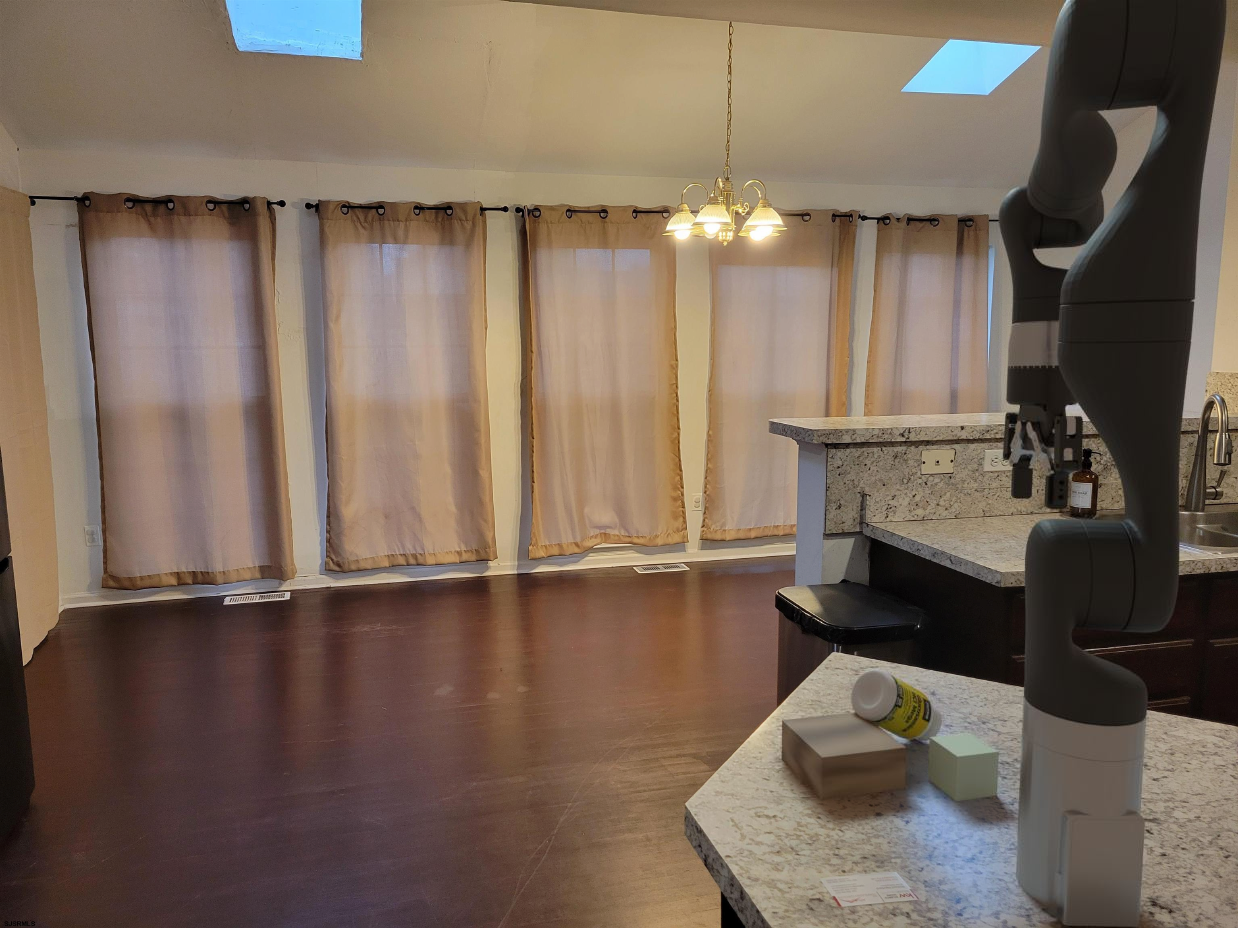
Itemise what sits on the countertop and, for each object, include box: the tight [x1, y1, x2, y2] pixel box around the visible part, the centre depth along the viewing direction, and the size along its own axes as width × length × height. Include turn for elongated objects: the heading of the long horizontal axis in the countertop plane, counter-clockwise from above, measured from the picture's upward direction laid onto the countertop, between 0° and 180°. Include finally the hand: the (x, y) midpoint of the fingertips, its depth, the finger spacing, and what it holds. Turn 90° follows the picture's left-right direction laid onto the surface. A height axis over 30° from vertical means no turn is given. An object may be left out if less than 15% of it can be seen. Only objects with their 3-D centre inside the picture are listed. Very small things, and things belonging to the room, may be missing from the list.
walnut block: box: [781, 711, 907, 800], centre depth 94 cm, size 10×10×5 cm
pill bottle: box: [850, 668, 943, 742], centre depth 101 cm, size 6×6×11 cm
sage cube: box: [927, 732, 1000, 802], centre depth 90 cm, size 5×5×5 cm
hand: (1037, 503), depth 96 cm, fingers open, 8 cm apart
